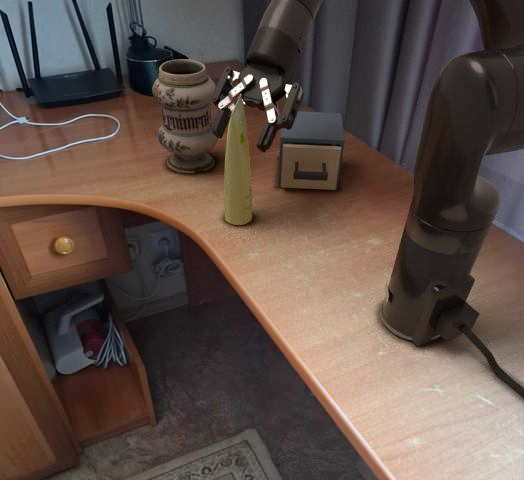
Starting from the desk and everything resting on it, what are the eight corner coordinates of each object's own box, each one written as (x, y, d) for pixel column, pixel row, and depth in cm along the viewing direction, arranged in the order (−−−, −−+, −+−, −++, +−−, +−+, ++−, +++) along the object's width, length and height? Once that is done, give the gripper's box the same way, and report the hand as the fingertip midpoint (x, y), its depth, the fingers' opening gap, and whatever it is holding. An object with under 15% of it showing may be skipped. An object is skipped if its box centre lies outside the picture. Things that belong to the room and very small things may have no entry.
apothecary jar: (177, 182, 92) (165, 81, 79) (152, 158, 99) (137, 61, 86) (230, 167, 97) (227, 70, 84) (203, 145, 104) (196, 52, 90)
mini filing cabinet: (337, 190, 91) (344, 140, 84) (278, 187, 92) (280, 137, 84) (335, 160, 100) (341, 113, 93) (280, 157, 100) (282, 110, 93)
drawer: (336, 204, 86) (342, 162, 80) (279, 201, 86) (281, 159, 80) (333, 162, 97) (338, 123, 91) (283, 159, 98) (285, 121, 92)
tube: (259, 222, 83) (261, 105, 69) (235, 230, 81) (231, 112, 67) (242, 207, 86) (241, 93, 72) (218, 215, 84) (212, 99, 70)
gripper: (231, 17, 71) (190, 120, 73) (313, 32, 66) (266, 143, 68) (251, 49, 78) (213, 142, 80) (327, 65, 73) (284, 165, 75)
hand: (238, 142), depth 74 cm, fingers open, 8 cm apart
